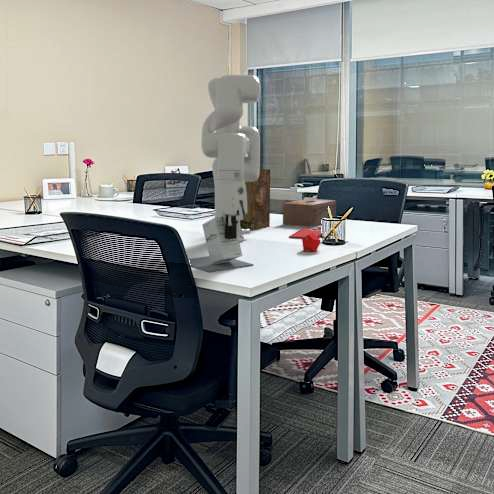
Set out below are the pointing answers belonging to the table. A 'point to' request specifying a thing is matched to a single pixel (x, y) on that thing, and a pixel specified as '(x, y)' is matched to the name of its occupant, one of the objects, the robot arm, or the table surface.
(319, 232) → the red board with handle
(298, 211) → the tissue box cover
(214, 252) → the supplement box
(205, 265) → the desk mat
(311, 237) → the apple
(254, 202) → the book
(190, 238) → the table surface
